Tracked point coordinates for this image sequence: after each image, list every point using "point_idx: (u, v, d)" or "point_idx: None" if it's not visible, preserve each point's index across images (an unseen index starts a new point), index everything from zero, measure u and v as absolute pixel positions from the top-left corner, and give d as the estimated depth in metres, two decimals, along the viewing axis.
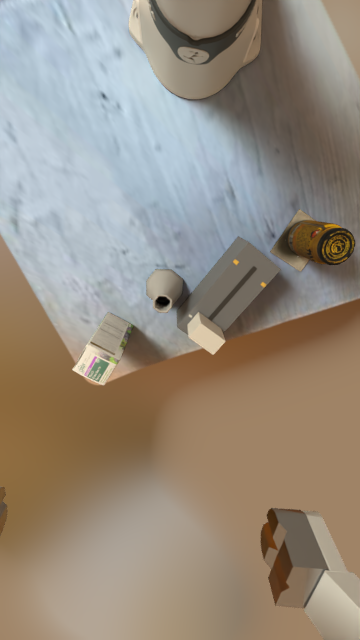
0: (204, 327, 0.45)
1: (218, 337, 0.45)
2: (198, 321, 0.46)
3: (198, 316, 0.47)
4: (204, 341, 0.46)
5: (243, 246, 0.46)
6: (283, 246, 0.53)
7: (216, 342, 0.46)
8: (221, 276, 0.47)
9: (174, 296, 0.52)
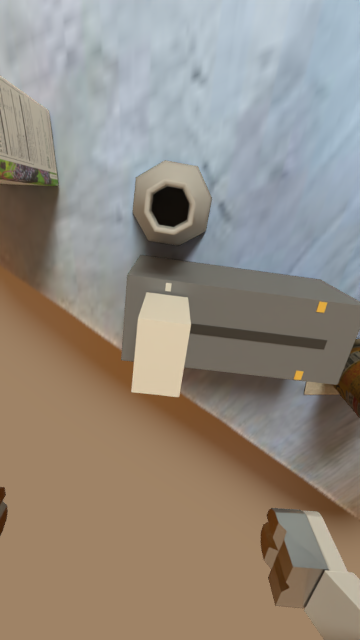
0: (184, 338, 0.17)
1: (178, 378, 0.18)
2: (183, 314, 0.18)
3: (185, 305, 0.20)
4: (151, 357, 0.17)
5: (351, 301, 0.23)
6: None
7: (164, 381, 0.18)
8: (281, 298, 0.22)
9: None
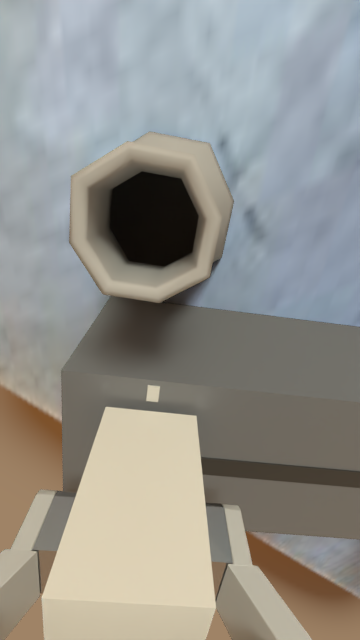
0: (196, 633, 0.05)
1: None
2: (190, 523, 0.06)
3: (193, 458, 0.08)
4: None
5: None
6: None
7: None
8: None
9: None
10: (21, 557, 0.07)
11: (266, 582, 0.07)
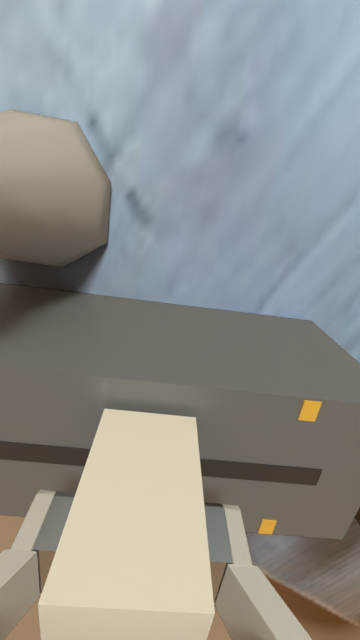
0: (194, 638, 0.05)
1: None
2: (189, 527, 0.06)
3: (192, 460, 0.08)
4: None
5: None
6: None
7: None
8: (219, 396, 0.10)
9: (11, 247, 0.11)
10: (21, 557, 0.07)
11: (266, 582, 0.07)
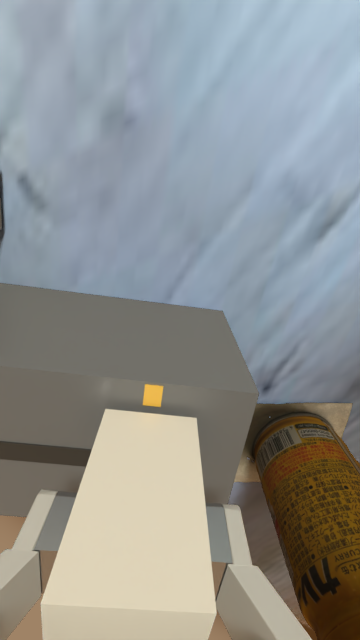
0: (196, 638, 0.05)
1: None
2: (190, 527, 0.06)
3: (193, 460, 0.08)
4: None
5: (227, 378, 0.10)
6: (254, 422, 0.20)
7: None
8: (55, 379, 0.09)
9: None
10: (22, 557, 0.07)
11: (266, 582, 0.07)
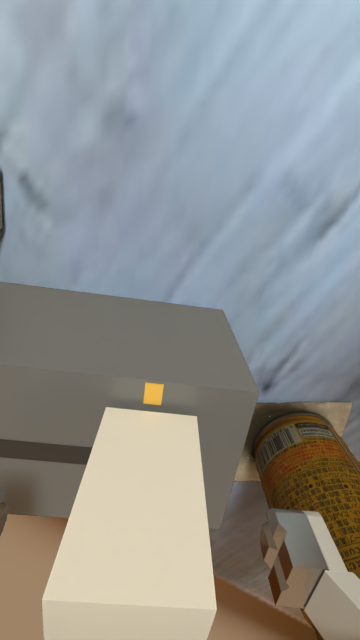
0: (196, 634, 0.05)
1: None
2: (191, 524, 0.06)
3: (193, 458, 0.08)
4: None
5: (227, 377, 0.10)
6: (254, 421, 0.20)
7: None
8: (56, 377, 0.09)
9: None
10: None
11: None
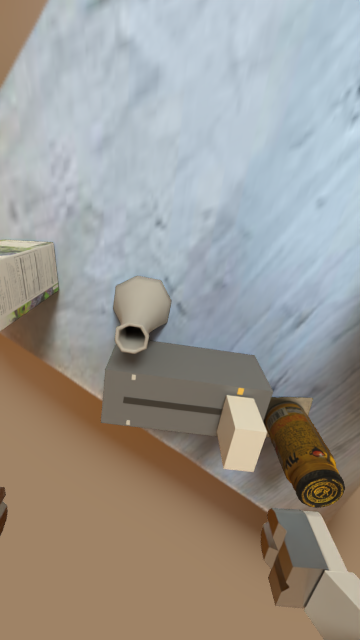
0: (262, 439, 0.27)
1: (254, 461, 0.28)
2: (259, 421, 0.28)
3: (256, 409, 0.30)
4: (239, 449, 0.28)
5: (262, 386, 0.32)
6: None
7: (245, 463, 0.28)
8: (212, 385, 0.31)
9: (143, 334, 0.32)
10: None
11: None
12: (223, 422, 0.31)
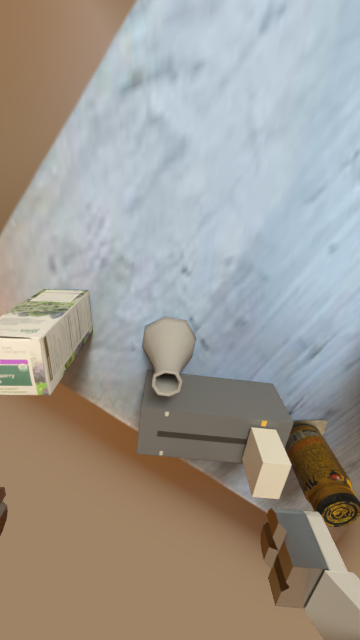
0: (287, 471, 0.30)
1: (280, 490, 0.31)
2: (283, 453, 0.31)
3: (279, 440, 0.33)
4: (266, 480, 0.31)
5: (283, 417, 0.35)
6: None
7: (272, 491, 0.31)
8: (237, 419, 0.34)
9: None
10: None
11: None
12: (249, 452, 0.34)
